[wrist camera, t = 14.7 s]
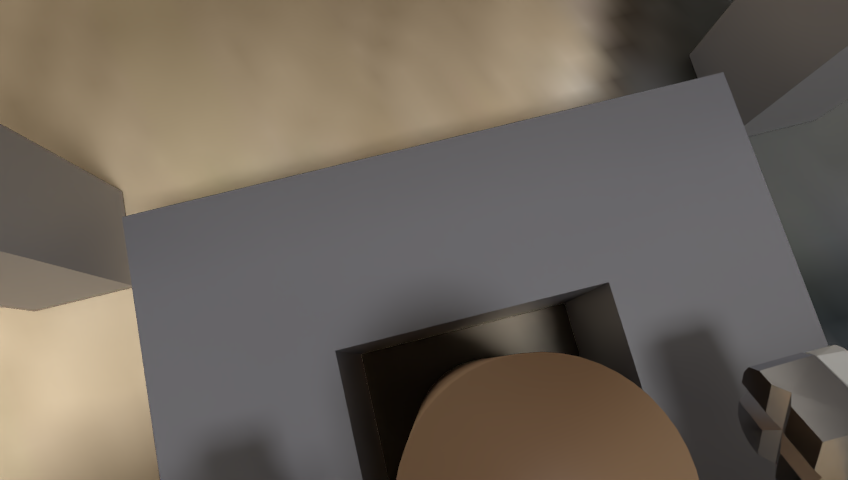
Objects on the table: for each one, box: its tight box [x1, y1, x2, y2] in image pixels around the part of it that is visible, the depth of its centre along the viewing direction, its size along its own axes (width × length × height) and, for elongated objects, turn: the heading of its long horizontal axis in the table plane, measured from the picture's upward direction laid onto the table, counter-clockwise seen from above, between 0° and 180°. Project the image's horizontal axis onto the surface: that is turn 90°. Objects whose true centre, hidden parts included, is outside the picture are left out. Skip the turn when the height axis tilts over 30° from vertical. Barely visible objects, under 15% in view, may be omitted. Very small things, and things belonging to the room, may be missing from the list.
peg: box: [396, 352, 699, 480], centre depth 12 cm, size 4×4×9 cm
